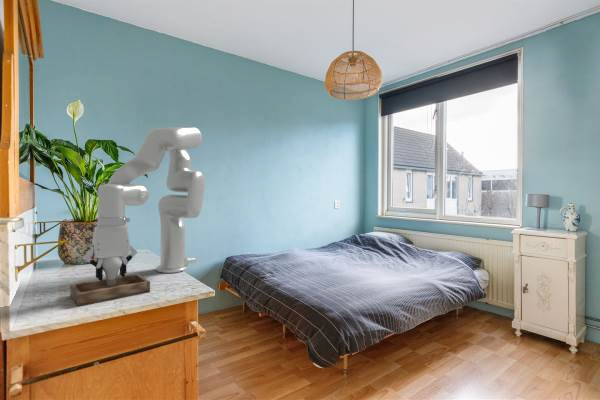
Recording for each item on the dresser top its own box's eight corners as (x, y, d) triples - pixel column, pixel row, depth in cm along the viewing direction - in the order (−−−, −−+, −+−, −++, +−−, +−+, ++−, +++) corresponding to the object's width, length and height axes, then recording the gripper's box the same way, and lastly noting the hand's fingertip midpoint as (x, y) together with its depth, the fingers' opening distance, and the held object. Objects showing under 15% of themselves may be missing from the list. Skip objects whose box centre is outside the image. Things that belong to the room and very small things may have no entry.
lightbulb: (126, 284, 105) (126, 251, 105) (113, 290, 99) (114, 255, 99) (109, 283, 106) (109, 250, 105) (95, 288, 100) (95, 254, 99)
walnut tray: (138, 283, 114) (138, 273, 114) (149, 291, 105) (150, 281, 105) (70, 295, 100) (70, 284, 100) (77, 306, 91) (77, 294, 91)
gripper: (136, 219, 110) (136, 270, 111) (77, 222, 98) (77, 280, 99) (143, 222, 105) (143, 275, 106) (82, 225, 93) (82, 285, 94)
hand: (111, 277), depth 102 cm, fingers closed on lightbulb, 5 cm apart
